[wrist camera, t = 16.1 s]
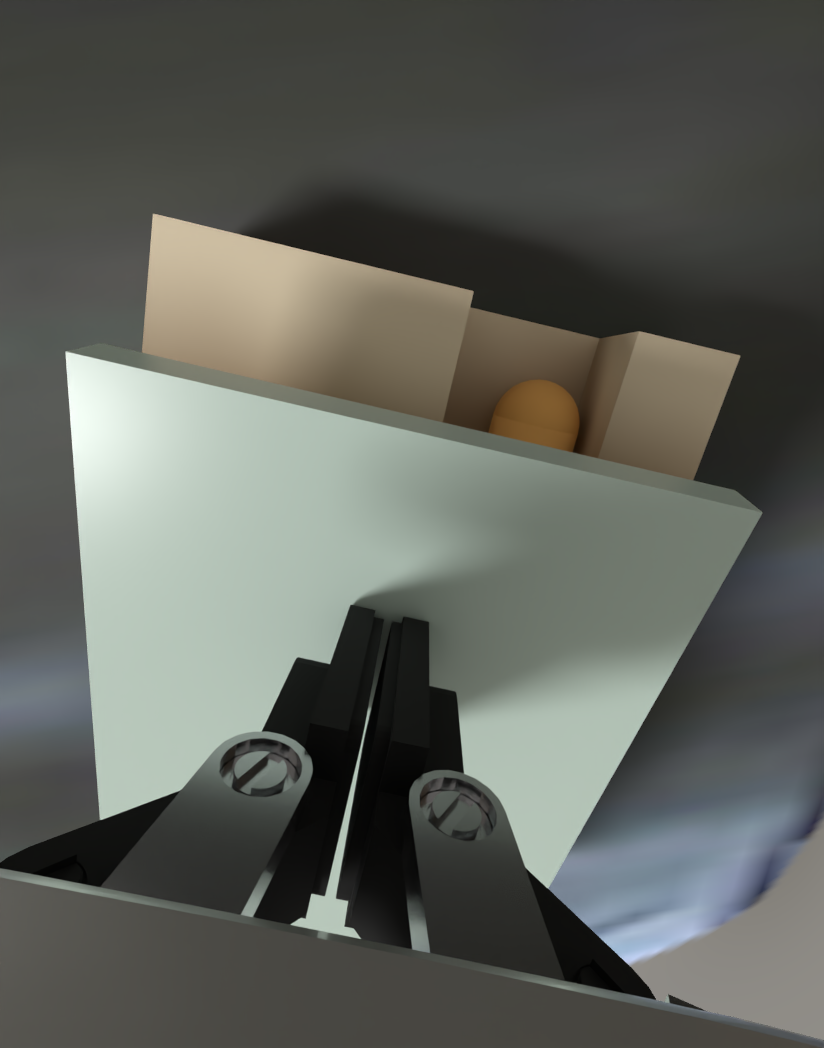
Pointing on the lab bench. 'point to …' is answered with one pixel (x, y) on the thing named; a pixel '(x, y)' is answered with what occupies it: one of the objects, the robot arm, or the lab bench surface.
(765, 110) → the lab bench surface
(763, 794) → the lab bench surface
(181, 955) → the robot arm
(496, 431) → the rod
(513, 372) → the base
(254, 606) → the plate
